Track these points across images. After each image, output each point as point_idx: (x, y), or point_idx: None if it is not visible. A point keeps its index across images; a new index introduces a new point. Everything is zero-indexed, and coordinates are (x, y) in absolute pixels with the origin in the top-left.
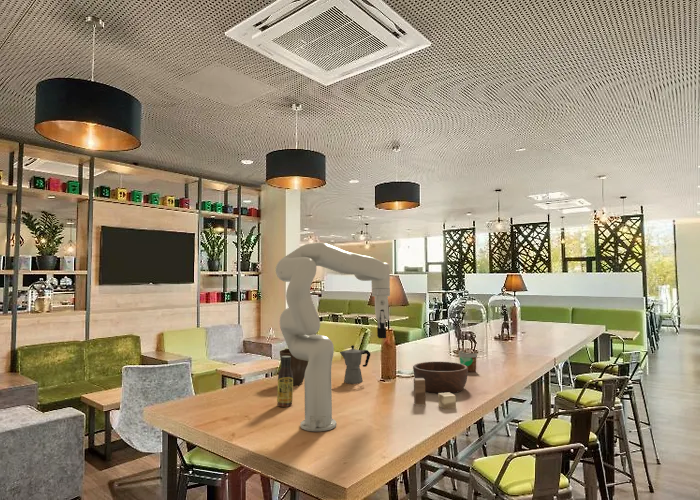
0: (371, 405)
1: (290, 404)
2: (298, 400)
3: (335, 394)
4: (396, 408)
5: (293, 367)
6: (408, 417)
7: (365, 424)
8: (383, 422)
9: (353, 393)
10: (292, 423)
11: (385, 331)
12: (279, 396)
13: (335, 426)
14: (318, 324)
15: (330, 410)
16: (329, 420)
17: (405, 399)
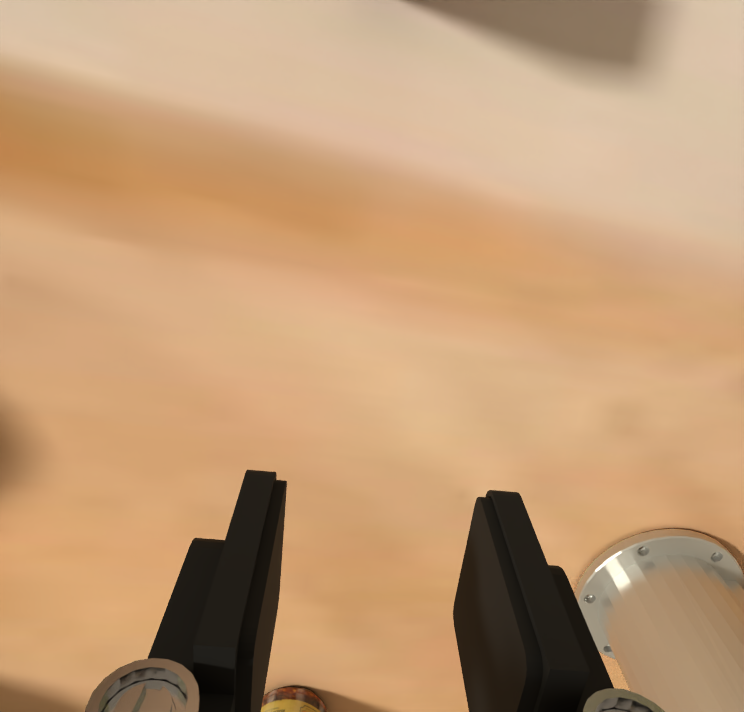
0: (366, 313)
1: (312, 696)
2: None
3: (76, 487)
4: (471, 163)
5: None
6: (689, 131)
7: (713, 400)
8: (720, 305)
9: (50, 382)
10: None
11: (556, 608)
12: None
13: (705, 535)
14: None
15: (738, 609)
16: (721, 579)
17: (245, 29)
